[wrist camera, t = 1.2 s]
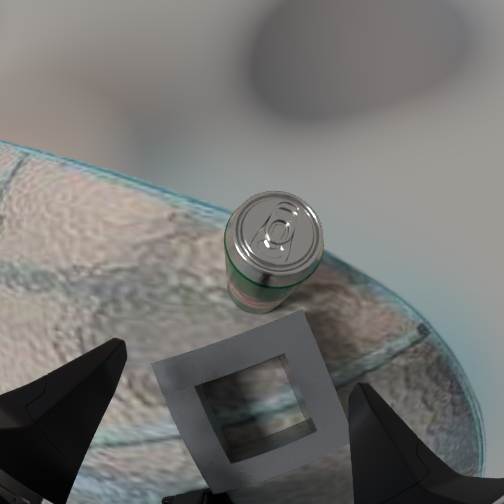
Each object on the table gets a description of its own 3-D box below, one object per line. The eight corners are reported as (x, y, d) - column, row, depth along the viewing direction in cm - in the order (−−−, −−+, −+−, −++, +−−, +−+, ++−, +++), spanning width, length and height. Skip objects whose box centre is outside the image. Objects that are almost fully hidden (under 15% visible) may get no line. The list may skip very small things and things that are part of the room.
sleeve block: (339, 429, 20) (354, 439, 16) (215, 476, 17) (213, 494, 14) (292, 314, 23) (302, 309, 20) (162, 361, 21) (150, 363, 18)
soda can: (217, 299, 23) (203, 254, 12) (242, 249, 25) (251, 169, 14) (271, 324, 23) (309, 302, 11) (293, 272, 24) (342, 209, 13)
